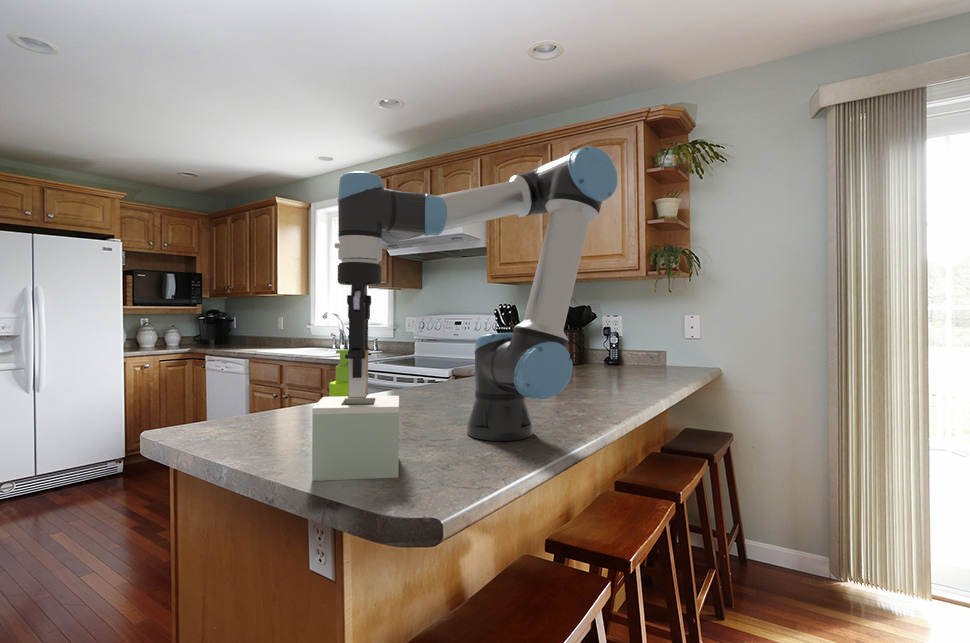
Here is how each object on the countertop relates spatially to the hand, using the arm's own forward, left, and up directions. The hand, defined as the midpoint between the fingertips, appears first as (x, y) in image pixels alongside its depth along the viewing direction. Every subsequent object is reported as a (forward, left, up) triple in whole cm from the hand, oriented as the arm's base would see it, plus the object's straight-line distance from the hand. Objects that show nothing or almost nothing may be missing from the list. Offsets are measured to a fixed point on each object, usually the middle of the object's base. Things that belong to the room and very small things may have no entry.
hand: (358, 393), depth 94 cm
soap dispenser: (+4, -18, -14) cm, 23 cm away
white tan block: (0, 0, 0) cm, 0 cm away
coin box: (0, 0, -13) cm, 13 cm away
